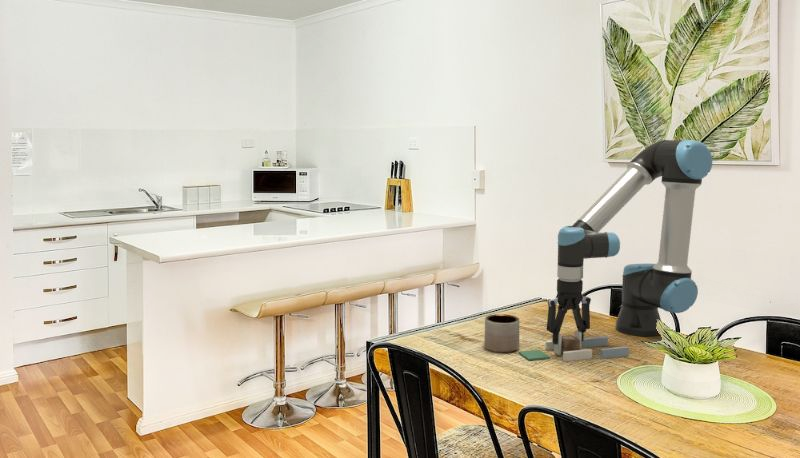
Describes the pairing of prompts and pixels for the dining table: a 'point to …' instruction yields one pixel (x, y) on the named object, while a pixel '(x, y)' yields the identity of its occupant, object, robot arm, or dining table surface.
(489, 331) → the planter
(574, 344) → the letter cube
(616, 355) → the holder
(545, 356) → the pad
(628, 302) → the robot arm
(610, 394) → the dining table surface
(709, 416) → the dining table surface
